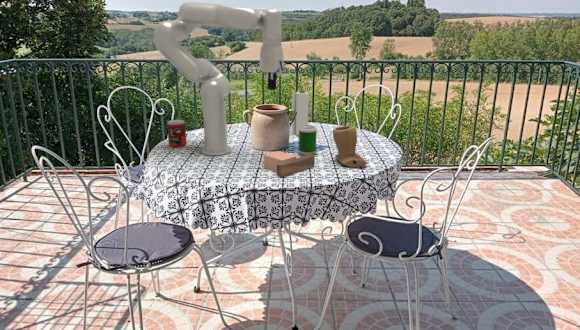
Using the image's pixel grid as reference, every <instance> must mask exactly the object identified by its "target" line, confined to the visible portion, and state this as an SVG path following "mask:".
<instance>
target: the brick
mask: <svg viewBox="0 0 580 330" xmlns="http://www.w3.org/2000/svg"><path fill="white" fill-rule="evenodd" d="M295 158H298V157H297V155H294V154H292V153H287V152H284V151H281V150H276V151H273V152H269V153H266V154H263V168H264V169H266V170H269V171H272V172H276V173H277V164H279V163H282V162H286V161H289V160H292V159H295Z"/></svg>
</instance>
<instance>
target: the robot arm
mask: <svg viewBox="0 0 580 330" xmlns="http://www.w3.org/2000/svg"><path fill="white" fill-rule="evenodd" d="M178 15H179V16H177V18H175V20H174V19H173V20H170V19H169V20H162V21H160V22H159V23H158V24H157V25H156V27H155V29H154V32H153V39H154V44H155V47H156V49H157V50H158V52H159V54H160V55H162V56H163V57H164V58H165V59H166V61H168V62H170V64H171V65H172V66H173V67H174V68H175V69H176V70H177V71H178V72H179V73H180V74H181V75H182V76H183V77H185V79H186V80H187V81H189V82H191V83H193V84H197V83H201V86H200V95H199V96H200V100H201V106H202V113H203V115H202V117H203V130H204V131H203V133H204V136H203V137H204V140H201V144H202V145H203V147H202V148H201V153H202V155H207V156H222V155H228V154H230V153H231V151H232V149H231V147H230V146H228V137H227V136H228V132H227V113H226V111H227V110H226V105H225V97H227V96H228V95H229V94H230V92H231V87H232V86H231V82H230V81H229V79H228V78H227V77H226V76H225V74H223V73H222V72H221V71H220V70H219V69H218V68H217V67H216V66H215V64H213V63H212V62H211V61H209V60H208V59H206V58H202V57H201V58H200V57H199V58H196V57H195V56H194V55H192V54H191V53H190V51H188V49H186V48H185V47H183V45H181V44H180V43H179V42H181V41H184V40H185V39H187V38H188V37H189V36H190V35H191V34H192V33H193V32H195V31H196V30H197V29H198V28H199V27H200V26H205V27H214V28H231V29H242V30H257V29H261V30H262V33H261V34H262V39H261V40H262V42H261V43H262V45H261V48H260V53H259V70H260V71H261V72H262V74H264V75H265V76H266V80H267V89H268V90H270V91H271V90H277V80H278V79H279V76H283V71H284V65H285V63H284V50H283V46H282V23H283V22H282V12H281V10H280V9H263V10H262V9H258V8H247V7H245V8H244V7H235V6H234V7H233V6H225V5H223V4H216V3H206V2H196V1H187V2H183V3H182V4H181V5H180V6H179V8H178Z"/></svg>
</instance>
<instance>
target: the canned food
mask: <svg viewBox="0 0 580 330" xmlns="http://www.w3.org/2000/svg"><path fill="white" fill-rule="evenodd" d="M166 125H167V126H166V127H167V137H168V145H169V147H172V148H181V147H185V146H186V145H187V131H186V121H185V120H183V119H172V120H168V121H167V123H166Z"/></svg>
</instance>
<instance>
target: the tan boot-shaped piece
mask: <svg viewBox="0 0 580 330" xmlns="http://www.w3.org/2000/svg"><path fill="white" fill-rule="evenodd" d="M332 136H333V141H334V144H335V145H336V149H337V152H338V153H337V154H336V155H335V158H336V160H337V161H338V162H339V163H341V164H342V165H345V166H347V167H350V168H359V167H363V166H366V165H367V164H368V161H366V160H365V158H363V157H362V156H360V155H359V154H357V153H356V150H357V149H356V147H357V142H358V133H357V128H356V126H354V125H342V126H337V127H335V128H333V129H332Z"/></svg>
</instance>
